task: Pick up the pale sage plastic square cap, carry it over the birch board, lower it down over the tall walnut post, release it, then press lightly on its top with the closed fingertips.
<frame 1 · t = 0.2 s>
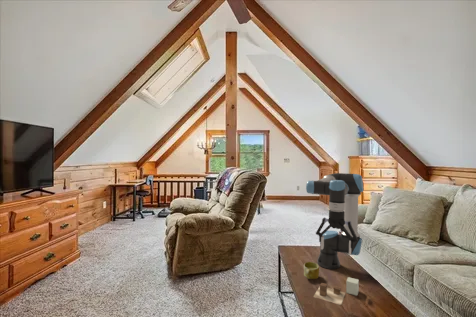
hand: (335, 251, 134), 27 cm above the table, fingers open, 13 cm apart
mug: (310, 278, 161), on the table
tall post: (323, 294, 140), resting on board
board: (329, 296, 140), on the table
cap: (352, 294, 144), on the table
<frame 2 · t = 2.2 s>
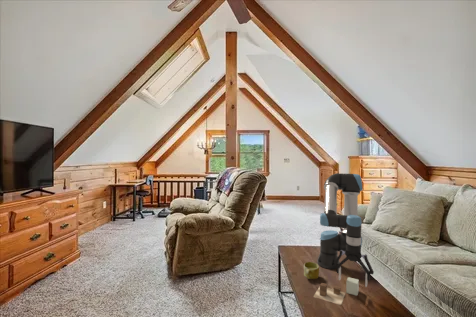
hand: (352, 282, 143), 7 cm above the table, fingers open, 13 cm apart
nothing on the table moved.
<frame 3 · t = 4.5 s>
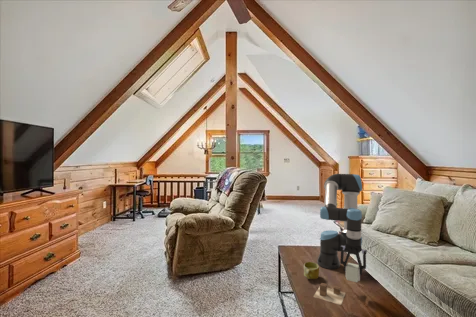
hand: (352, 278, 144), 9 cm above the table, fingers closed on cap, 6 cm apart
cap: (352, 279, 144), point 8 cm above the table, touching gripper
everything else where it was.
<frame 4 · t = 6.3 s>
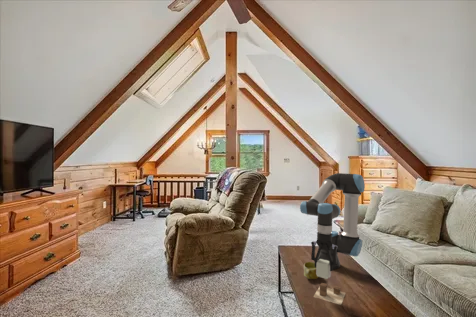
hand: (323, 275, 140), 12 cm above the table, fingers closed on cap, 6 cm apart
cap: (323, 275, 140), point 12 cm above the table, touching gripper
everything else where it was.
when the fingers open (2 cm above the table, at t = 8.1 s): cap stays where it is, resting on board.
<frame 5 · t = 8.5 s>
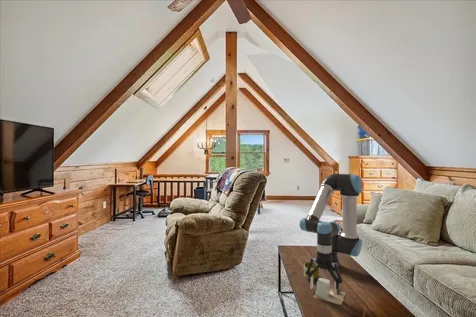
hand: (323, 291, 140), 3 cm above the table, fingers open, 12 cm apart
cap: (323, 294, 140), point 1 cm above the table, touching board
everything else where it was.
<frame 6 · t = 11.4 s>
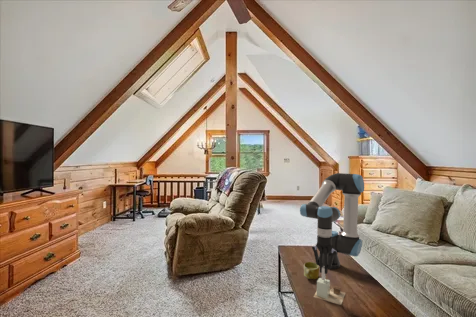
hand: (323, 278, 140), 10 cm above the table, fingers closed
nothing on the table moved.
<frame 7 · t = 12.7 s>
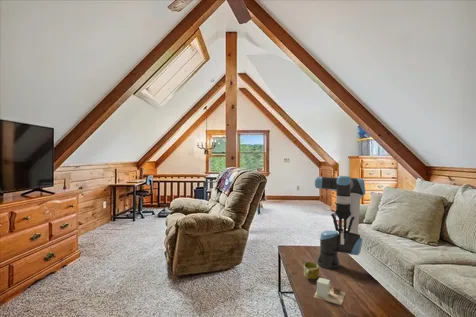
hand: (342, 243, 149), 26 cm above the table, fingers closed
nothing on the table moved.
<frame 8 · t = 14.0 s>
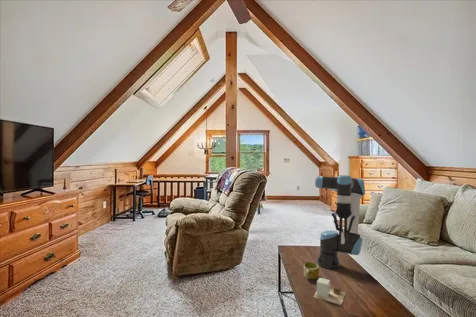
hand: (342, 243, 149), 26 cm above the table, fingers closed
nothing on the table moved.
at the end: cap 0.2 cm from the tall post (horizontally); cap point 1.2 cm above the table; cap tilted 0° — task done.
